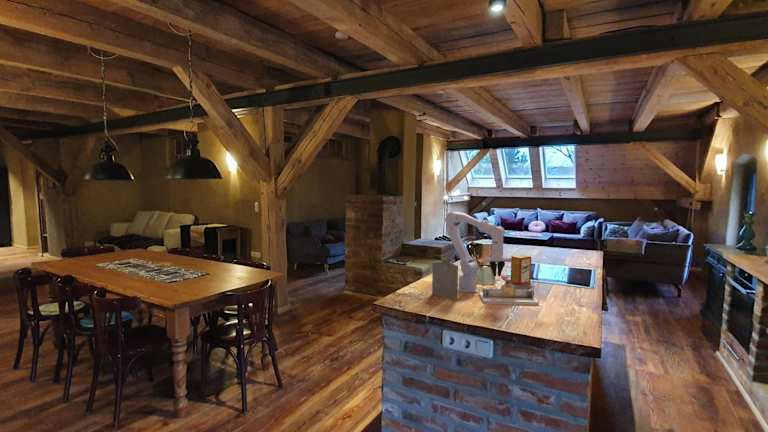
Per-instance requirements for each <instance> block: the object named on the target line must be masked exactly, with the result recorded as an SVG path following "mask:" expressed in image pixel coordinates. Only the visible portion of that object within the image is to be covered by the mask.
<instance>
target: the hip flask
mask: <svg viewBox="0 0 768 432" xmlns="http://www.w3.org/2000/svg"><path fill="white" fill-rule="evenodd" d="M431 275H432V277H431V278H432V279H431V280H432V281H431V282H432V283H431V284H432V285H431V286H432V288H431V294H432V295H433V296H437V297H440V296H441V298H443V297H444V299H447V300H449V299H450V300H449V301H452V302H456V301H458V290H459V265H458V264H455V263H452V262H450V258H447V257H444V258H442V261H441V260H433V261H432V274H431Z"/></svg>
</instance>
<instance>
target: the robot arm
mask: <svg viewBox="0 0 768 432" xmlns="http://www.w3.org/2000/svg"><path fill="white" fill-rule="evenodd" d="M444 221H445V224H446V225H445V226H446V227H445V229H446V233H447V235H448V236H449V239H450V241H451V243H452V245H453V247H454V249H455V251H456V253H457V256H458V257H459V259H460V260H459V265H460V270H461V273H462V274H461V273H458V290H459V293H479V290H478V288H477V281H478V280H477V278H478V276H477V273H478V271H479V268H480V267H479V266H480V265H479V263H478V262H477V261H475V259H474V257H472V256H471V255H470V253H469V251H468V249H467V247H466V245H465V244H464V241H463V239H462V237H461V235H460V234H459V231H458V229H459V225H461V223H467V224H470V225H473V226H475V227H477V229H478V230H479V232H483V233H485V234H487V235H489V236H490V237H491V257H487V258H482V263H483V264H484V263H485V264H486V263H489V265H490V266H489V267H490V268H491V271H492V275H493V277H497V276H498V277H501V275H502V272H503V269H504V267H505V266H506V262H507V263H511V257H504V236H505V234H506V230H505V228H504V227H503V226H502V225H498V226H497V224H496V223H495V224H493V223H490V222H489V220H484V219H483V220H478V219H477V218H474V217H472V216H471V215H468V214H467V213H465V212H461V211H453V212H451V211H450V212H448V213H447V214H446V215H445V218H444Z"/></svg>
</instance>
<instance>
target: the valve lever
mask: <svg viewBox="0 0 768 432" xmlns="http://www.w3.org/2000/svg"><path fill="white" fill-rule="evenodd" d="M500 279H502V281H504V283H508V284H510V283H511V279H509V276H508V275H506V274H501V276H500ZM511 284H512V283H511Z"/></svg>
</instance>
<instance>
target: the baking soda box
mask: <svg viewBox="0 0 768 432" xmlns="http://www.w3.org/2000/svg"><path fill="white" fill-rule="evenodd" d="M510 258H511V262H510V263H511V264H510V280H511V284H514V283H515V285H518V286H521V285H526V284H530V283H531V276H532V275H531V274H532V256H531V255H525V254H517V255H512V256H510Z"/></svg>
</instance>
